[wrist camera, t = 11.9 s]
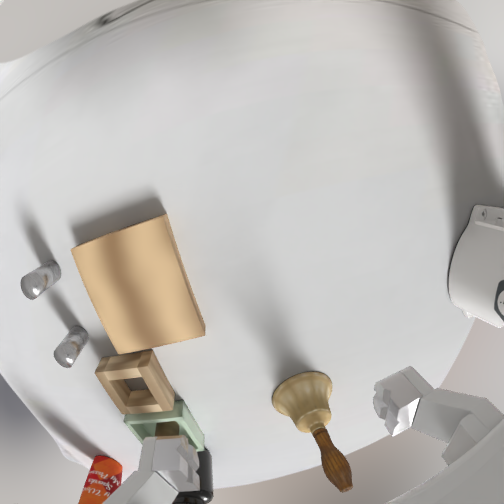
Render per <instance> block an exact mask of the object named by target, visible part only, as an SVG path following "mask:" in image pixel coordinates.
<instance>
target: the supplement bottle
mask: <svg viewBox="0 0 504 504" xmlns="http://www.w3.org/2000/svg"><path fill="white" fill-rule="evenodd" d="M204 450H205V451H198V452H197V454H198V459H199V468H198V469H197V471H196V473H197V474H198V475H199V480H200V490H198V491H184V492H178V495H177V496H176V498H175V499H174V501H173V502H172V504H207V503H209V502H210V501H211V500H212V499H213V475H212V457H211V454H210V453H209V452H208V451H207V450H206V449H204Z"/></svg>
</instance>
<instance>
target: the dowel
mask: <svg viewBox="0 0 504 504" xmlns="http://www.w3.org/2000/svg"><path fill="white" fill-rule="evenodd" d="M179 428H180V426H179V424H178V423H177V422H176V421H168V422H157V423H156V429H155V436H154V437H161V436H178V435H179Z"/></svg>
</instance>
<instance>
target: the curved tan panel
mask: <svg viewBox="0 0 504 504" xmlns="http://www.w3.org/2000/svg"><path fill="white" fill-rule="evenodd" d="M71 252H72V255H73V258H74V260H75V263H76V266H77V268H78V271H79V273H80V276H81V278H82V281H83V283H84V286H85V288H86V290H87V293H88V295H89V297H90V299H91V302H92V304H93V306H94V308H95V310H96V312H97V314H98V316H99V318H100V321H101V323H102V325H103V327H104V329H105V330H106V332H107V334H108V336H109V338H110V340H111V342H112V344H113V345H114V347H115V349H116V351H117V353H118V354H125V353H130V352H135V351H140V350H145V349H149V348H154V347H159V346H163V345H168V344H172V343H176V342H181V341H185V340H189V339H193V338H197V337H201V336H205V323H204V321H203V318H202V315H201V313H200V310H199V307H198V305H197V302H196V299H195V297H194V294H193V291H192V288H191V286H190V283H189V280H188V277H187V274H186V272H185V269H184V266H183V263H182V260H181V257H180V254H179V251H178V248H177V245H176V242H175V239H174V235H173V232H172V229H171V226H170V223H169V219H168V216H167V214H164V215H161V216H158V217H155V218H152V219H149V220H146V221H143V222H140V223H137V224H134V225H131V226H128V227H126V228H123V229H120V230H117V231H114V232H112V233H109V234H106V235H103V236H101V237H98V238H95V239H93V240H90V241H87V242H85V243H82V244H80V245H78V246H76V247H74V248H72V249H71Z"/></svg>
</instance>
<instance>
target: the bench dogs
mask: <svg viewBox="0 0 504 504" xmlns="http://www.w3.org/2000/svg"><path fill="white" fill-rule="evenodd" d="M60 277H61V270H60V267H59V266H58V264H57V263H56V262H54V261H48V262H47V263H45V264H43V265H42V266H40V267H38V268H37V269H35V270H33V271H32V272H30V273H28V274H27V275H25V276H24V277H23V278H22V279H21V289H22V291H23V293H24V295H25V296H26V297H27V298H29V299H32V300H33V299H35V298H37V297H38V296H39V295H40V294H42V293H43V292H44V291H45V290H47V289H48V288H49V287H51V286H52V285H53V284H55V283H56V282H57V281H58V280H59V279H60ZM88 340H89V337H88V334H87V332H86V331H85V330H84V329H83V328H82V327H80V326H74V327H73V328H72V329H71V330H70V332H69V333H68V334H67V335H66V337H65V338H64V339H63V341H62V342H61V343H60V344H59V346H58V347H57V348H56V350H55V351H54V357H55V359H56V361H57V362H58V363H59V364H60V365H61V366H63V367H66V368H70V367H71V366H72V365H73V363H74V362H75V360H76V359H77V357H78V355H79V354H80V352H81V351H82V349H83V348H84V346H85V345H86V343H87V342H88Z"/></svg>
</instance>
